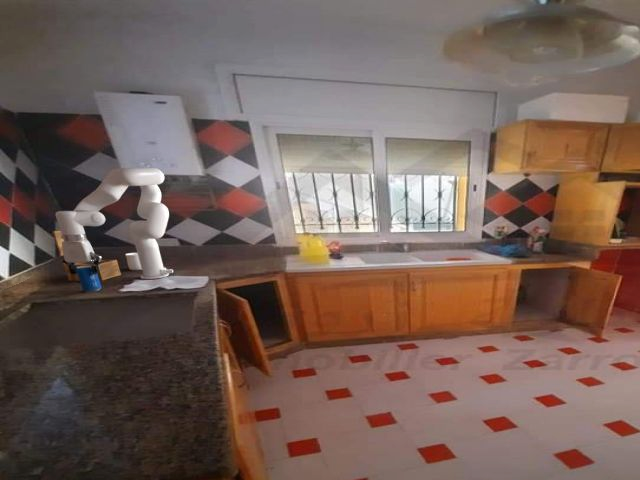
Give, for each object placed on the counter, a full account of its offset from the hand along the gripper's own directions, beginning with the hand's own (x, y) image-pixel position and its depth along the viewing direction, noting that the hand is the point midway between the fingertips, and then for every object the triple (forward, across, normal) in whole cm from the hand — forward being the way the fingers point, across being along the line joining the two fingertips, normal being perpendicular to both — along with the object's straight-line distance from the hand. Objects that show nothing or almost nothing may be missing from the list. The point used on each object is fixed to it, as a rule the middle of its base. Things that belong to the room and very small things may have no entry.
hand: (85, 273), depth 153 cm
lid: (-9, -27, +26) cm, 39 cm away
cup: (+8, -12, +48) cm, 50 cm away
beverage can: (+9, 0, +1) cm, 9 cm away
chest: (+8, -19, +26) cm, 34 cm away
